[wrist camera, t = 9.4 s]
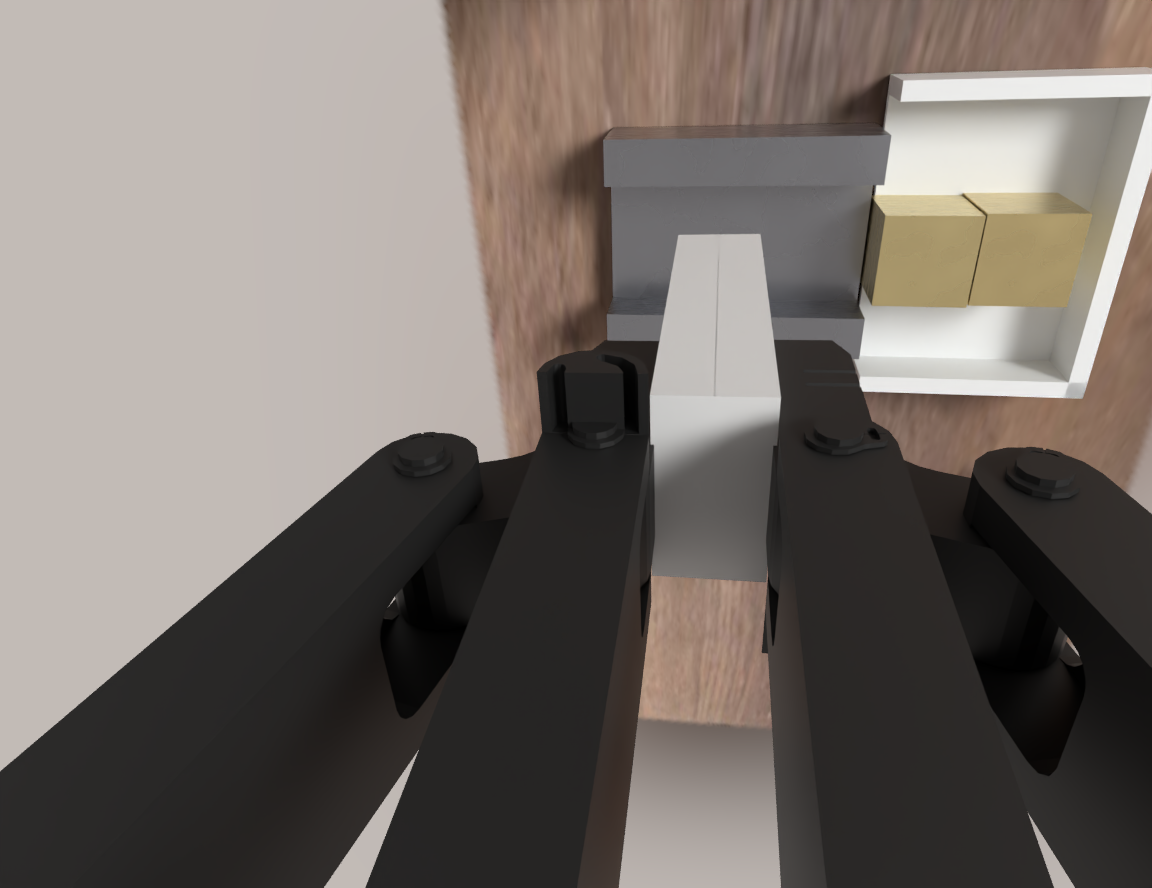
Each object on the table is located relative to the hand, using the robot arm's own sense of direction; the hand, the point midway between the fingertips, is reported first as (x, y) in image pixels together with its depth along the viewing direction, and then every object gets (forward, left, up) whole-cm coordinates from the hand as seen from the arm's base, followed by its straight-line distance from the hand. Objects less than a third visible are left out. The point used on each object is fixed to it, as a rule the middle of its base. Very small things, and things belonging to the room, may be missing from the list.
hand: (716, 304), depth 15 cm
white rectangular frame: (+5, +12, -25) cm, 29 cm away
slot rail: (+5, +1, -25) cm, 26 cm away
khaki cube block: (+5, +13, -25) cm, 29 cm away
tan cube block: (+5, +9, -25) cm, 27 cm away
